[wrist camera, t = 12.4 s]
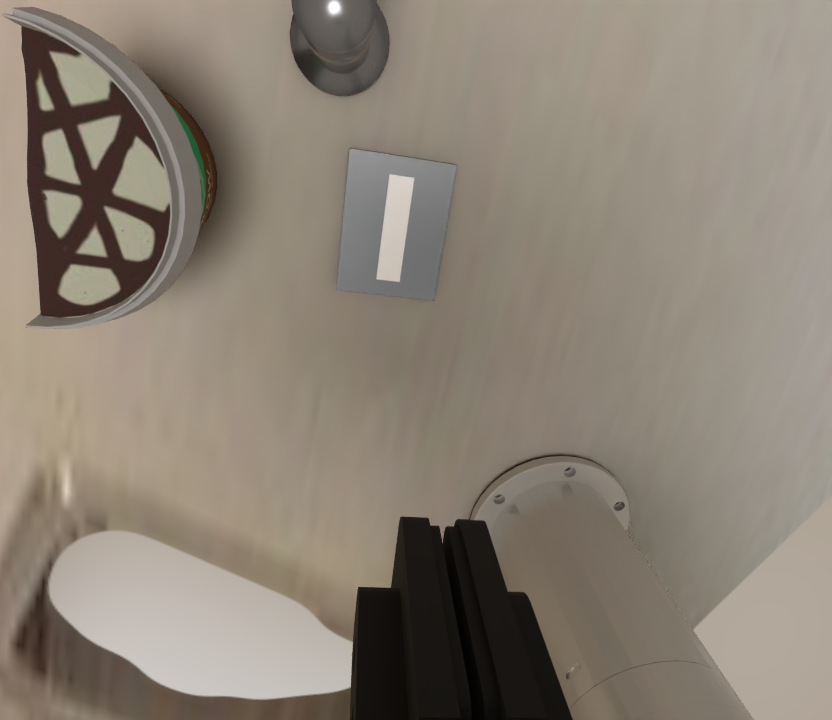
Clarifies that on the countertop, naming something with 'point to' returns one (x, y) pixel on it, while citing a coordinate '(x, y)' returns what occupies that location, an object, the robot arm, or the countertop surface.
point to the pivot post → (339, 43)
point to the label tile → (394, 224)
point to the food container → (106, 175)
